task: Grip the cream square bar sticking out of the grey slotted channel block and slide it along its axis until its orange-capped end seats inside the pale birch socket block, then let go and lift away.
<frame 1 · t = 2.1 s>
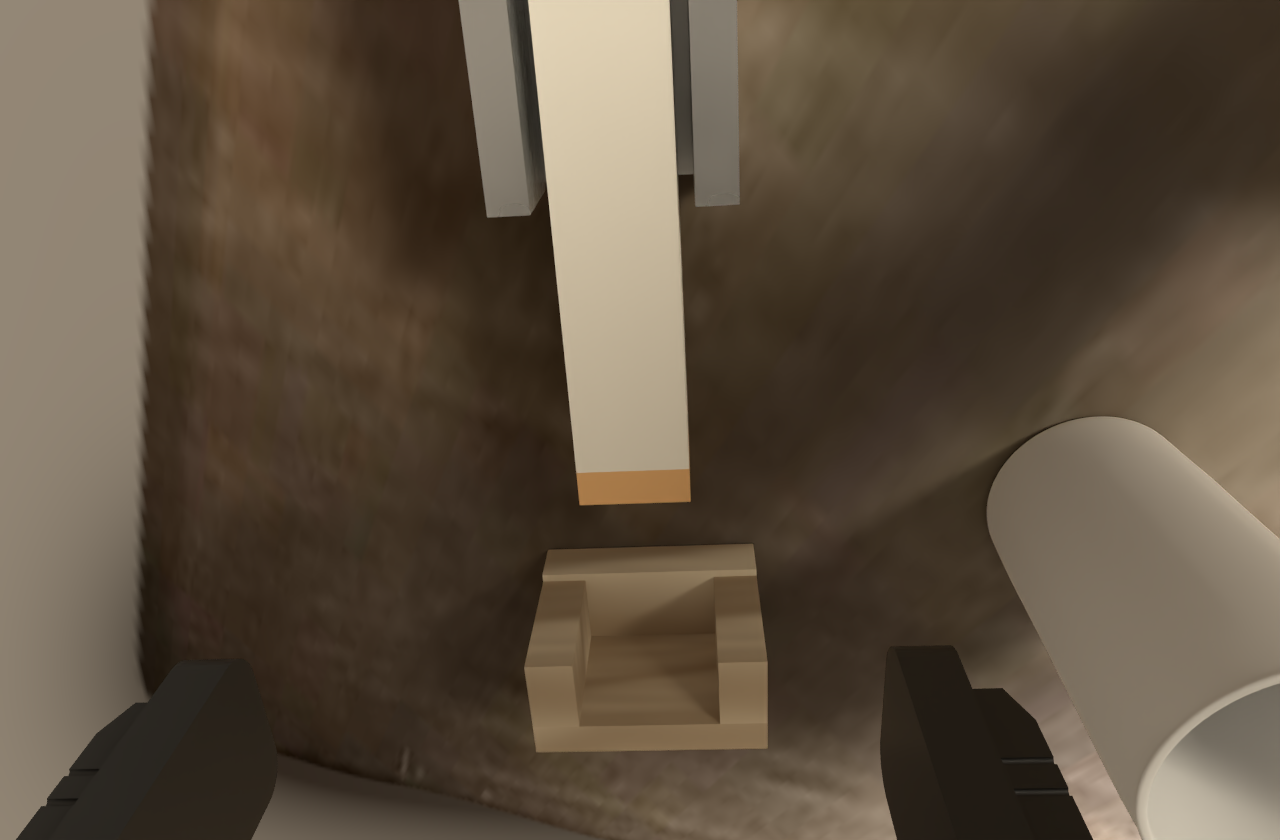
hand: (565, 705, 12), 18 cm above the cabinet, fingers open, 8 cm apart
socket: (652, 588, 33), on the cabinet
cream square bar: (614, 151, 23), point 4 cm above the cabinet, slide at 0.0 cm
mug: (1129, 499, 31), on the cabinet
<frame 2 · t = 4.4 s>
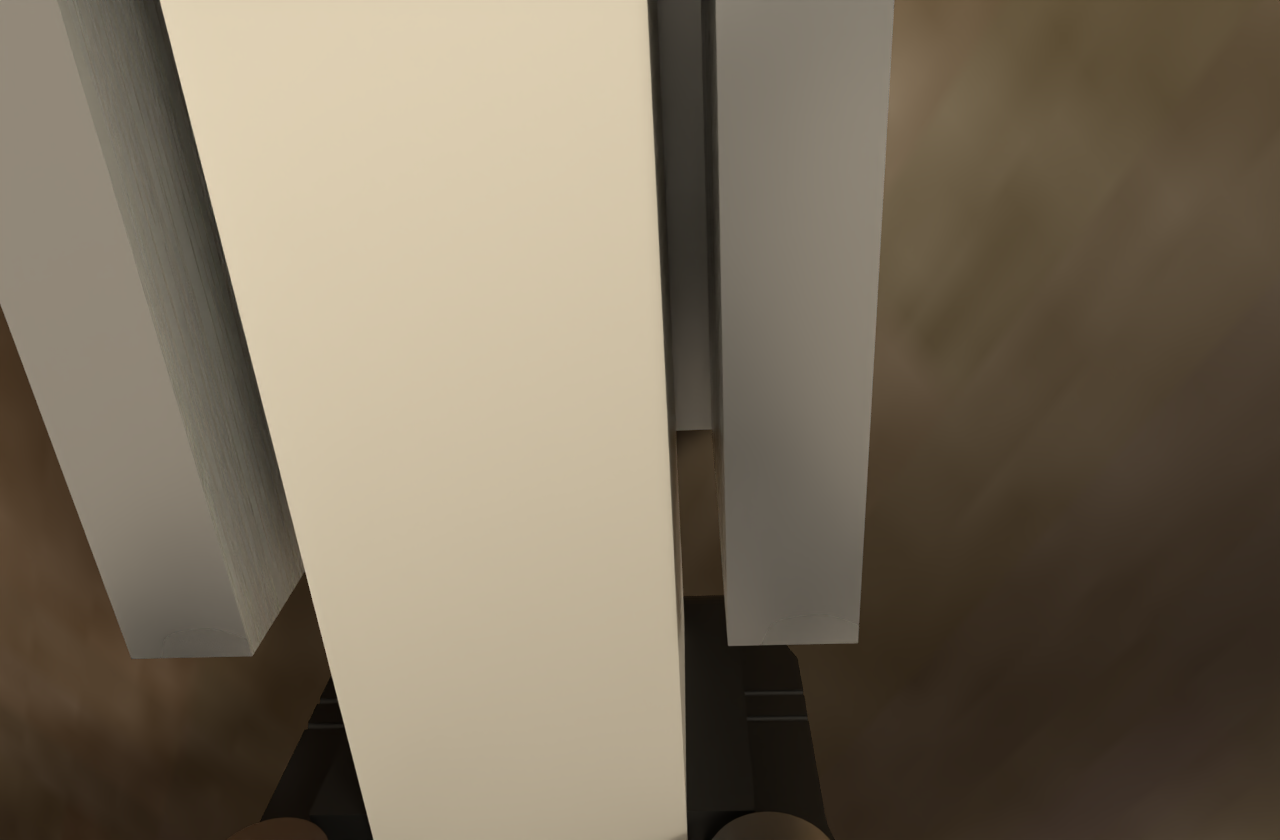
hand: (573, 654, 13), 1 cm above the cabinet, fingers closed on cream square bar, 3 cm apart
cream square bar: (510, 431, 9), point 4 cm above the cabinet, slide at 0.0 cm, touching gripper
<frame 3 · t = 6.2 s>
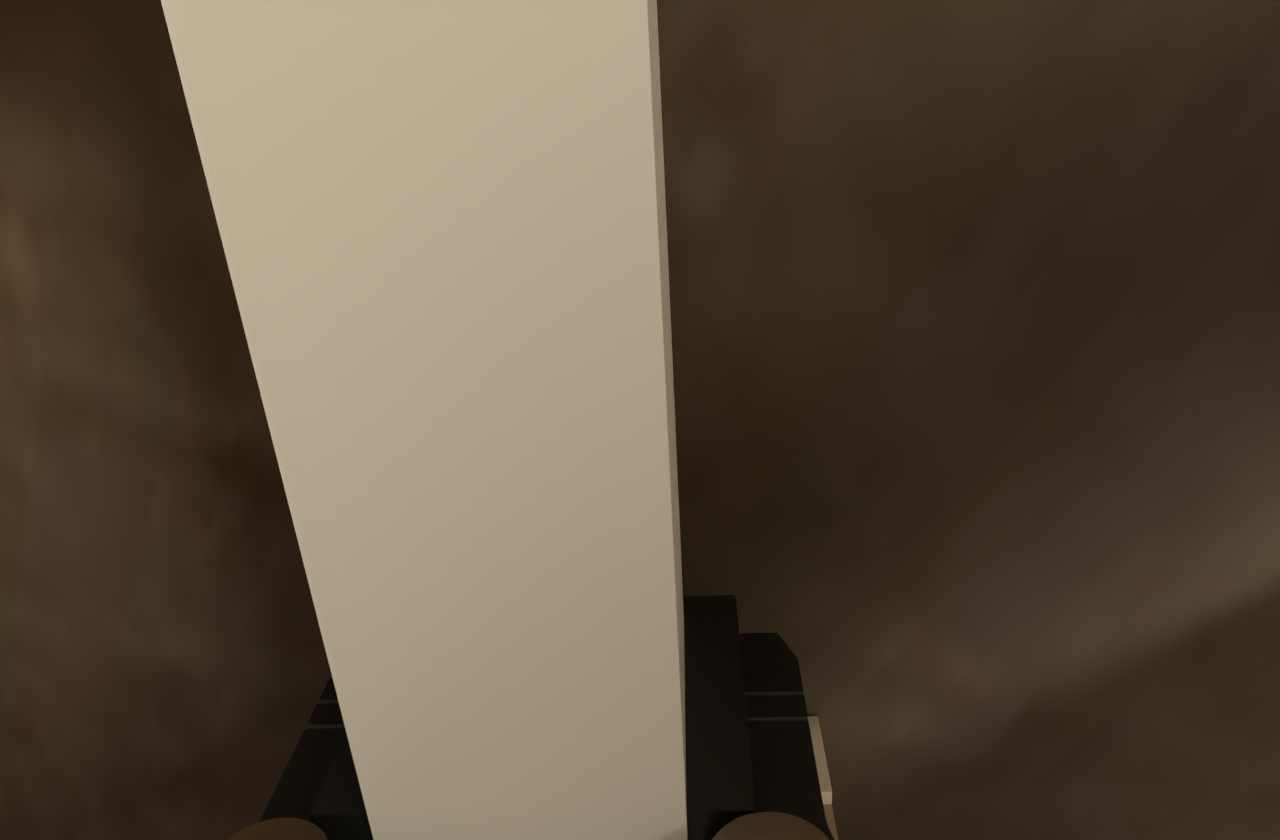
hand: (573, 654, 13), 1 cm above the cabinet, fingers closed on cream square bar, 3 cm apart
socket: (604, 799, 16), on the cabinet
cream square bar: (510, 431, 9), point 4 cm above the cabinet, slide at 6.8 cm, touching gripper
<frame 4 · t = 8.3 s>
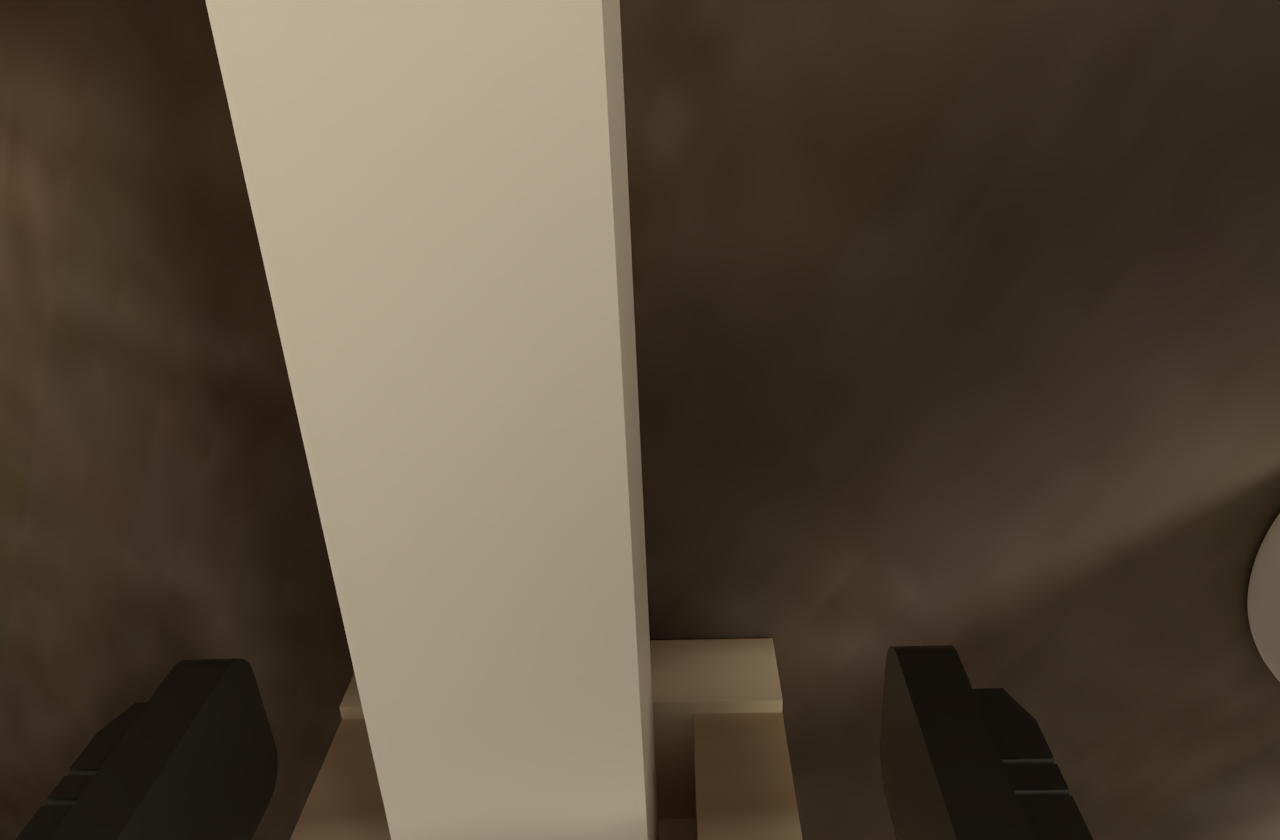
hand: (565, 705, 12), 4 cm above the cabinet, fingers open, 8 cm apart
socket: (575, 719, 17), on the cabinet
cream square bar: (487, 345, 10), point 4 cm above the cabinet, slide at 6.9 cm
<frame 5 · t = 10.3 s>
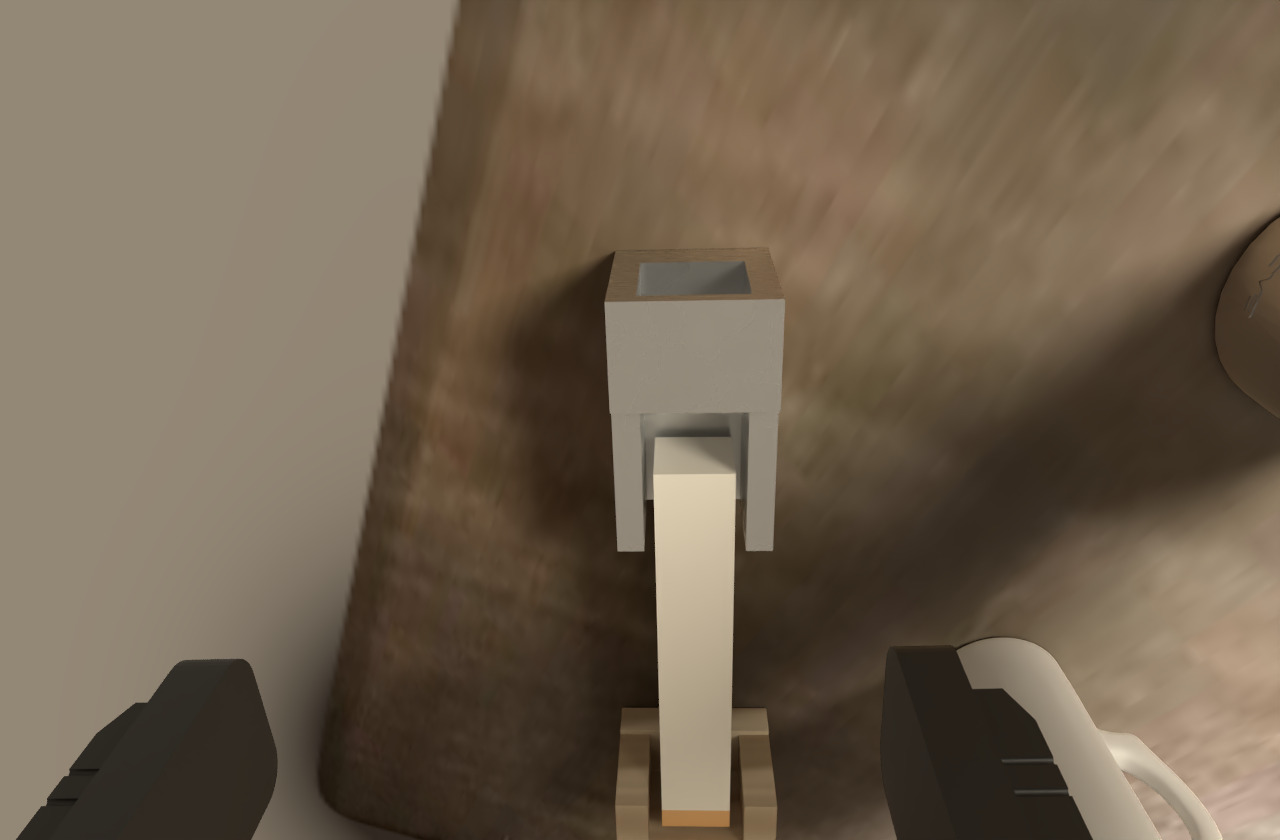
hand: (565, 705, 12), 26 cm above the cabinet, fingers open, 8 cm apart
socket: (693, 735, 46), on the cabinet
grey slotted channel block: (692, 370, 38), on the cabinet
cream square bar: (694, 644, 39), point 4 cm above the cabinet, slide at 6.9 cm
mug: (1026, 687, 44), on the cabinet
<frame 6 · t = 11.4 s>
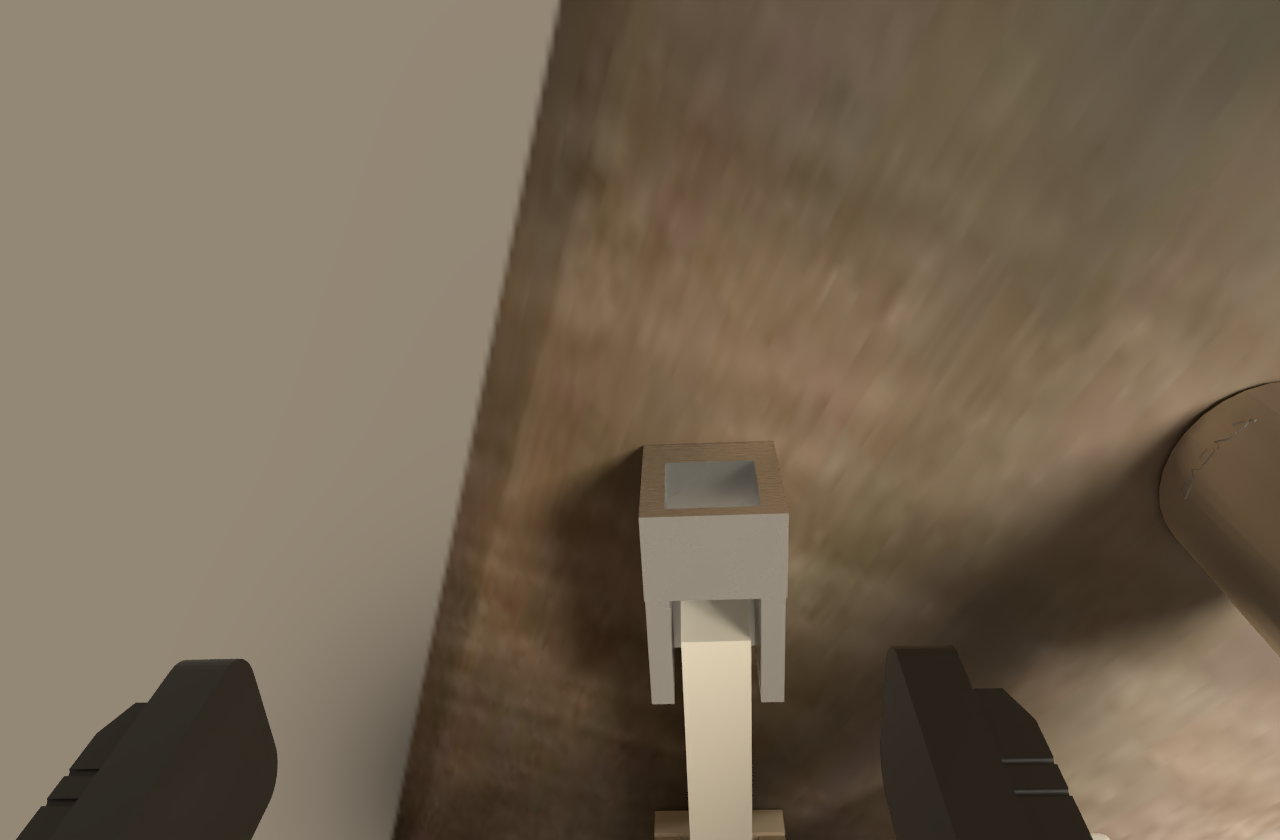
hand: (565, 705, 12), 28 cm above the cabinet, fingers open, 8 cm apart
socket: (718, 832, 52), on the cabinet
grey slotted channel block: (710, 538, 44), on the cabinet
cream square bar: (718, 769, 45), point 4 cm above the cabinet, slide at 6.9 cm
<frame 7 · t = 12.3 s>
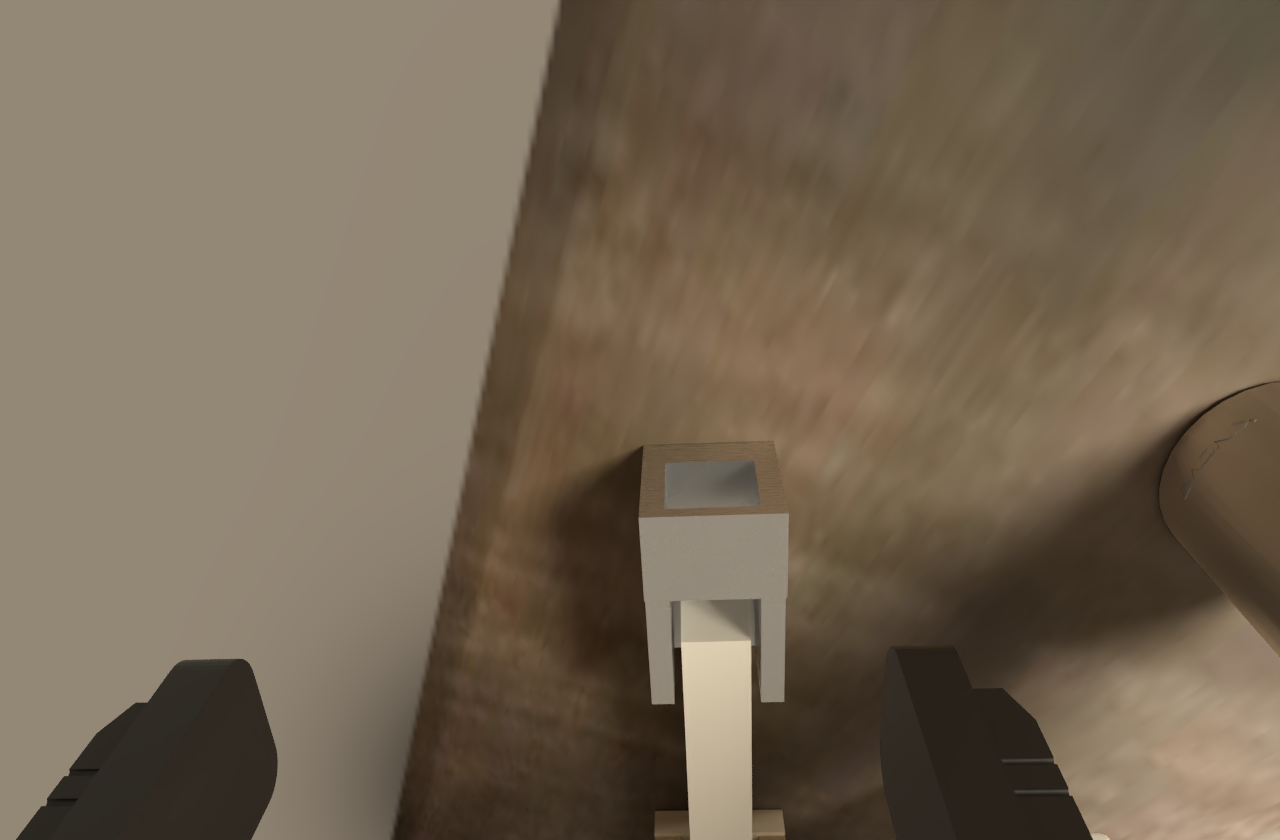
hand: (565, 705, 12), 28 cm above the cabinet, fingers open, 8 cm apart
socket: (718, 832, 52), on the cabinet
grey slotted channel block: (710, 538, 44), on the cabinet
cream square bar: (718, 769, 45), point 4 cm above the cabinet, slide at 6.9 cm
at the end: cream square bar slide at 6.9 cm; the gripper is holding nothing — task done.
